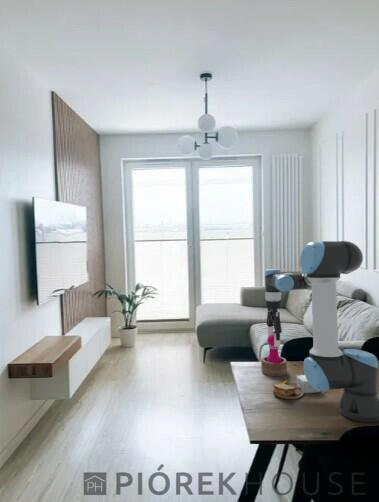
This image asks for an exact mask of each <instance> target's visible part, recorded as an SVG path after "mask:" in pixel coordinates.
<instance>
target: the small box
mask: <svg viewBox="0 0 379 502" xmlns="http://www.w3.org/2000/svg"><path fill="white" fill-rule="evenodd" d="M296 386H297V387H299V388H300V389H301V390H302V391H303V392H304V394H310V393H311V394H312V393H313V394H314V393H321V390H316V389H314V388H313V387H312V386H311V385H310V384H309V382H308V380H307V379H306V376H305V374H298V375H296Z"/></svg>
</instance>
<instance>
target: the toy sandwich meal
mask: <svg viewBox="0 0 379 502" xmlns="http://www.w3.org/2000/svg"><path fill="white" fill-rule="evenodd" d="M288 383H289V380H288V379H285V380H284V381H282V382H280V383H279V384H272V386H273V392H272V394H274V395H275V396H277V397H279V398H281V399H286V400H298V399H301V397H303V396H304V394H305V393H304V392H303V391H302V390H301V389H300V388H299V387H297V385H294V384H291V385H290V384H289V385H288Z"/></svg>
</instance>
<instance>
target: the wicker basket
mask: <svg viewBox="0 0 379 502" xmlns="http://www.w3.org/2000/svg"><path fill="white" fill-rule="evenodd" d="M268 356H269V355H266V356H263V357H262V358H261V359H260V360H261V361H260V363H261V364H260V365H261V372H262V374H264V375H267V376H271V377H281V376H285V375H287V373H288V361H287V359H286V357H285V358H284V357H282V356H279V357H280V359H281V362H280V363H271V362H267V358H268Z"/></svg>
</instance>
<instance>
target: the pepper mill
mask: <svg viewBox="0 0 379 502" xmlns="http://www.w3.org/2000/svg"><path fill="white" fill-rule="evenodd" d="M267 344H268V349H269V352H268V355H267V356H268V358H267V362H271V363H280V362H281V359H280V357H281V356H280V354H279V348H280V347H275V346H274V331H273V332H272V335H270V336H269V337H268V336H267Z"/></svg>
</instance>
